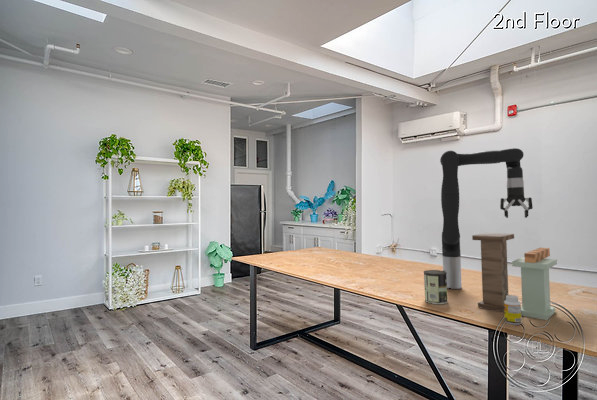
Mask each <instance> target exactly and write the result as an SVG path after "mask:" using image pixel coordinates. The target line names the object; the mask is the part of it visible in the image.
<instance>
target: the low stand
mask: <svg viewBox="0 0 597 400" xmlns="http://www.w3.org/2000/svg"><path fill="white" fill-rule="evenodd" d="M557 261H558V259H557V258H556V259H555V258H544V259H542V260H540V261H538V262H536V263H530V262H525V257H524V256H522V257H520V258H517V259H515V260H512V261H511V265H512V267H517V268H520V277H521V278H520V279H521V282H520V283H521V317H522V316H523V317H527V318H532V319H538V320H544V321H548V320H549V319H550V318H551V317H552V316H553V315H554V314H555V313H556V307H554V306H551V293H550V291H551V288H550V269H551V268H553V267H554V266H556V265H557V264H558V262H557Z"/></svg>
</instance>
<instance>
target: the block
mask: <svg viewBox="0 0 597 400" xmlns="http://www.w3.org/2000/svg"><path fill="white" fill-rule="evenodd" d="M550 251H551V250H550V247H539V248H536V249H532V250H529V251H527V252H524V254H523V255H524V256H523V257H525V262H530V263H536V262H538V261H540V260H542V259H544V258H545V259H548V258H549V257H551V256H550V255H551V253H550Z"/></svg>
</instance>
